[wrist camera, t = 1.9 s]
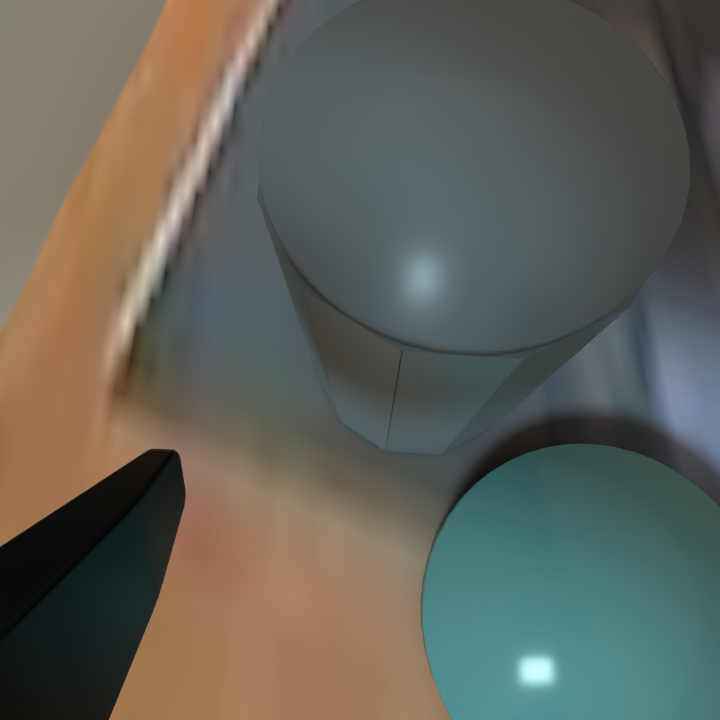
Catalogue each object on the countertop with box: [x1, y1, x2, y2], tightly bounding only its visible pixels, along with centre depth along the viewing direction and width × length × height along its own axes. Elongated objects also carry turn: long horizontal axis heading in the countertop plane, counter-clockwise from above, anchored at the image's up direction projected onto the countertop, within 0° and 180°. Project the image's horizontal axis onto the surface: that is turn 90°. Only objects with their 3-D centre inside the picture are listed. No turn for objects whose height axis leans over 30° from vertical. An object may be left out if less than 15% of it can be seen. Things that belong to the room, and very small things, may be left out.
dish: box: [421, 444, 720, 720], centre depth 19 cm, size 11×11×1 cm
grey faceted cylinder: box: [257, 0, 690, 455], centre depth 16 cm, size 7×7×12 cm
